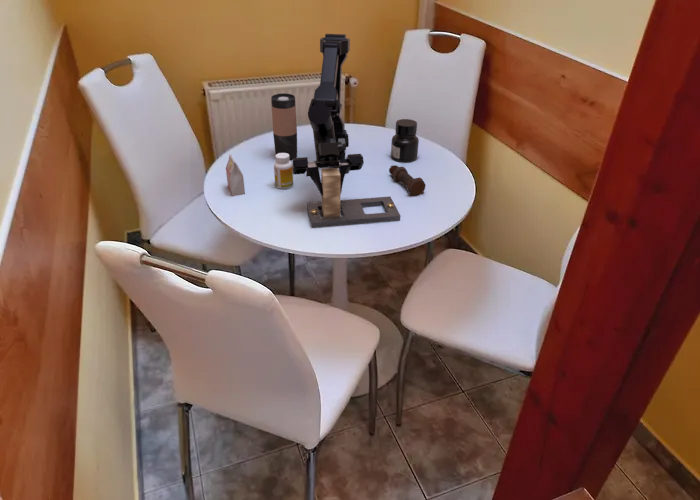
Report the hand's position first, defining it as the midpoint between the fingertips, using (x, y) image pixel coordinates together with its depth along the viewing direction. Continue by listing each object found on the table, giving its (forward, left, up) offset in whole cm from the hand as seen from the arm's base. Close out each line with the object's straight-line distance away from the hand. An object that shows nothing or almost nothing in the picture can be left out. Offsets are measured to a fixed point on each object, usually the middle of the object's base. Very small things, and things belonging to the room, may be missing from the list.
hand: (331, 194), depth 142 cm
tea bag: (-32, -2, -7) cm, 33 cm away
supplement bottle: (-22, +8, -7) cm, 24 cm away
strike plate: (+4, +4, -7) cm, 9 cm away
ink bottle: (-1, +46, -7) cm, 46 cm away
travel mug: (-34, +25, -7) cm, 43 cm away
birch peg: (0, 0, -7) cm, 7 cm away
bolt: (+8, +28, -7) cm, 30 cm away
